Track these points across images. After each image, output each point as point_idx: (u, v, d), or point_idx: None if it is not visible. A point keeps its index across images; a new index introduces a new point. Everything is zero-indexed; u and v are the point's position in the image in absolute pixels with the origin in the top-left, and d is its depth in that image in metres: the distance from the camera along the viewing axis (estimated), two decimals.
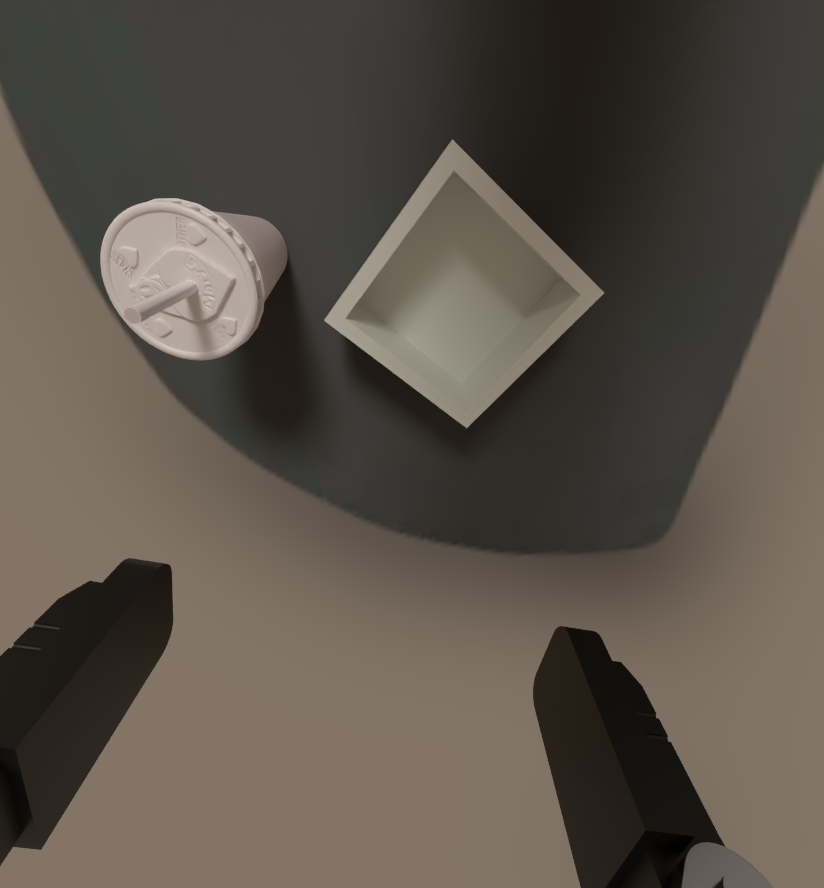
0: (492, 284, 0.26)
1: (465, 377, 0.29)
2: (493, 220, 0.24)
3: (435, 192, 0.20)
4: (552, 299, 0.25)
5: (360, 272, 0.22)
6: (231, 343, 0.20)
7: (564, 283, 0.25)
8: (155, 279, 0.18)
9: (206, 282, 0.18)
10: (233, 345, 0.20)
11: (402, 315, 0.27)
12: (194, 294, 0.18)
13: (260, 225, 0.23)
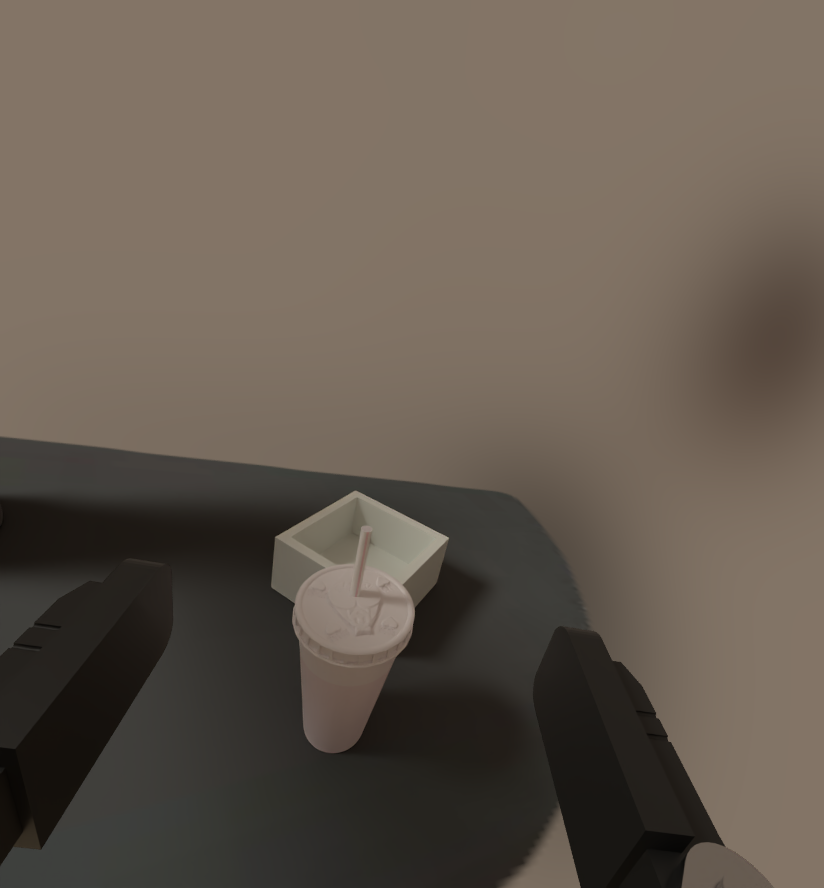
0: None
1: None
2: None
3: (301, 544, 0.34)
4: (362, 525, 0.42)
5: None
6: (396, 583, 0.26)
7: (353, 524, 0.43)
8: (350, 612, 0.23)
9: (351, 583, 0.25)
10: (397, 582, 0.26)
11: None
12: (360, 591, 0.24)
13: None
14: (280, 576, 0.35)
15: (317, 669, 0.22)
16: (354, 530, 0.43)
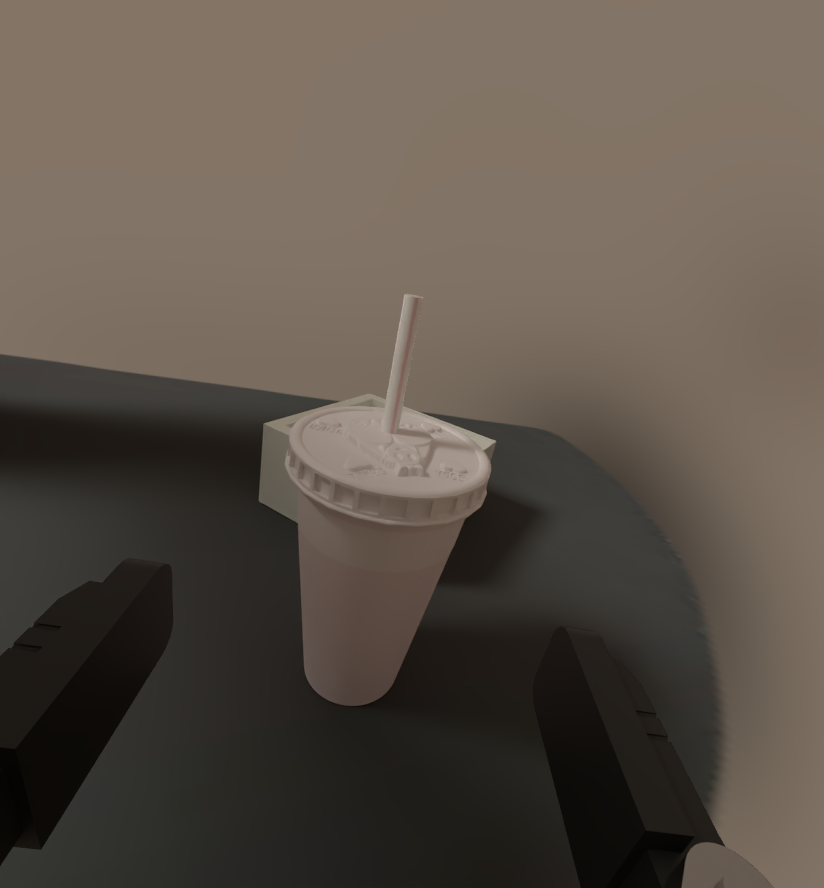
0: None
1: None
2: None
3: None
4: None
5: None
6: (451, 430, 0.16)
7: None
8: (384, 448, 0.13)
9: (382, 421, 0.15)
10: (453, 429, 0.16)
11: None
12: (398, 428, 0.15)
13: None
14: (271, 482, 0.26)
15: (329, 542, 0.13)
16: None
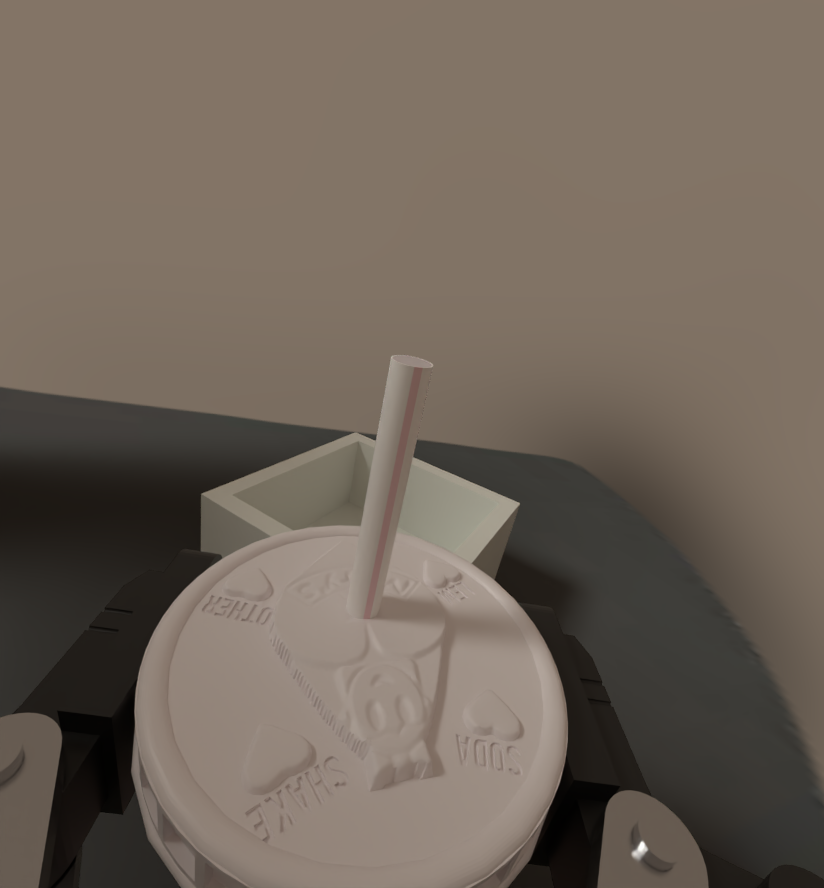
0: None
1: None
2: None
3: (250, 507, 0.18)
4: None
5: None
6: (478, 576, 0.09)
7: (352, 487, 0.26)
8: (347, 680, 0.06)
9: (351, 576, 0.08)
10: (481, 573, 0.09)
11: None
12: None
13: None
14: None
15: None
16: (354, 498, 0.26)
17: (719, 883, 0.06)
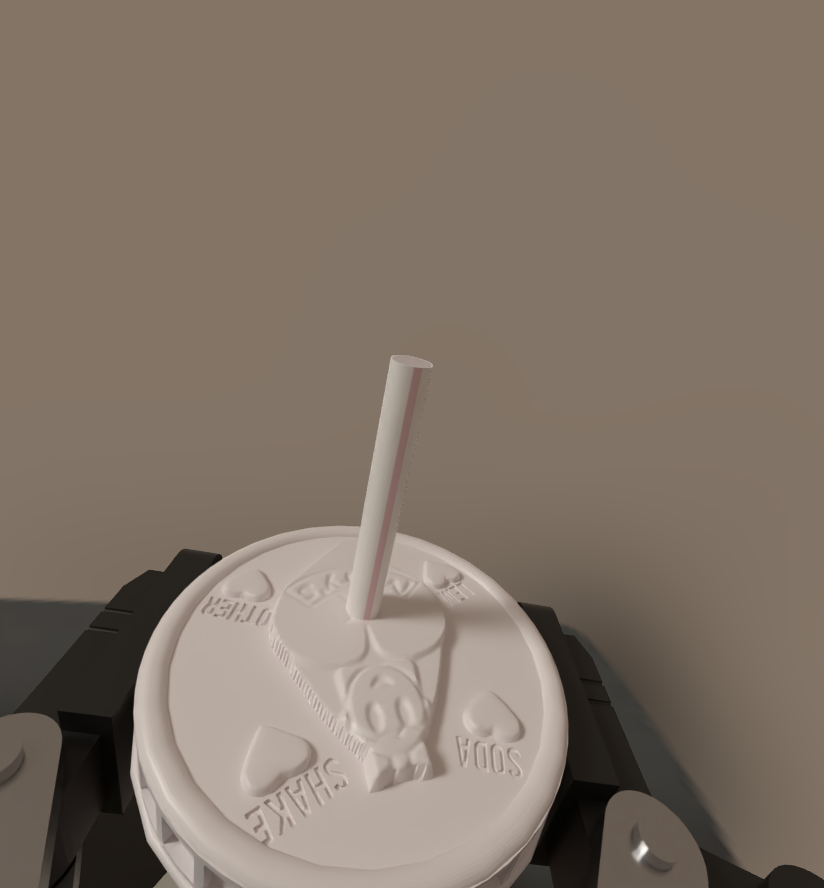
0: None
1: None
2: None
3: None
4: None
5: None
6: (478, 576, 0.09)
7: None
8: (347, 682, 0.06)
9: (351, 577, 0.08)
10: (481, 574, 0.09)
11: None
12: None
13: None
14: None
15: None
16: None
17: (719, 883, 0.06)
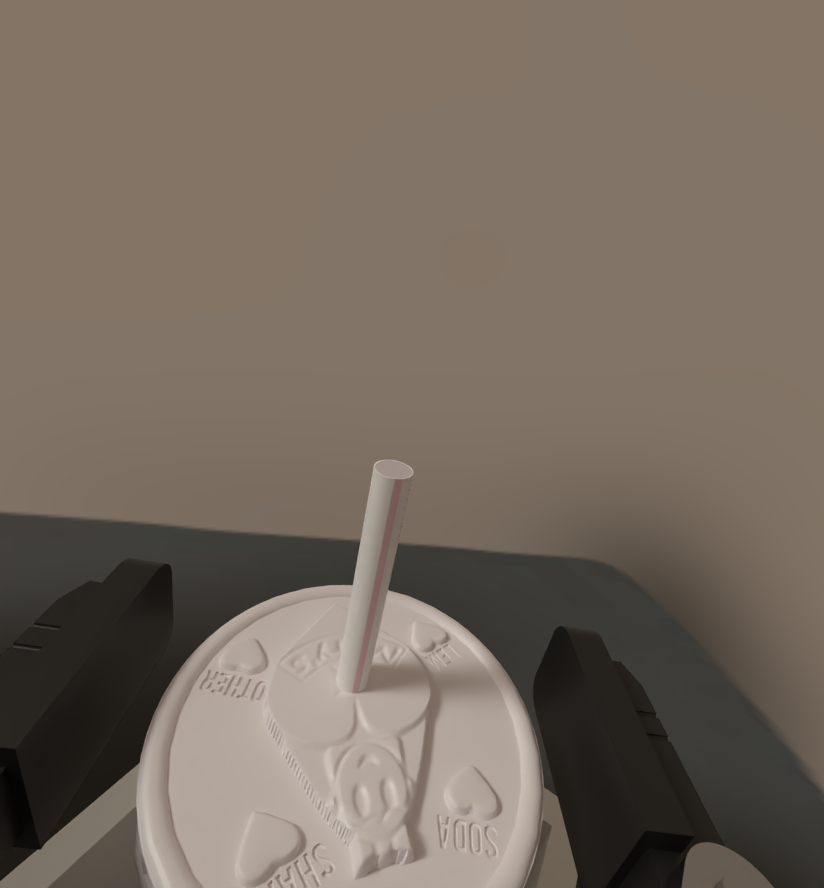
0: None
1: None
2: None
3: None
4: None
5: None
6: (464, 637, 0.09)
7: None
8: (336, 762, 0.07)
9: (342, 645, 0.08)
10: (467, 634, 0.10)
11: None
12: None
13: None
14: None
15: None
16: None
17: None
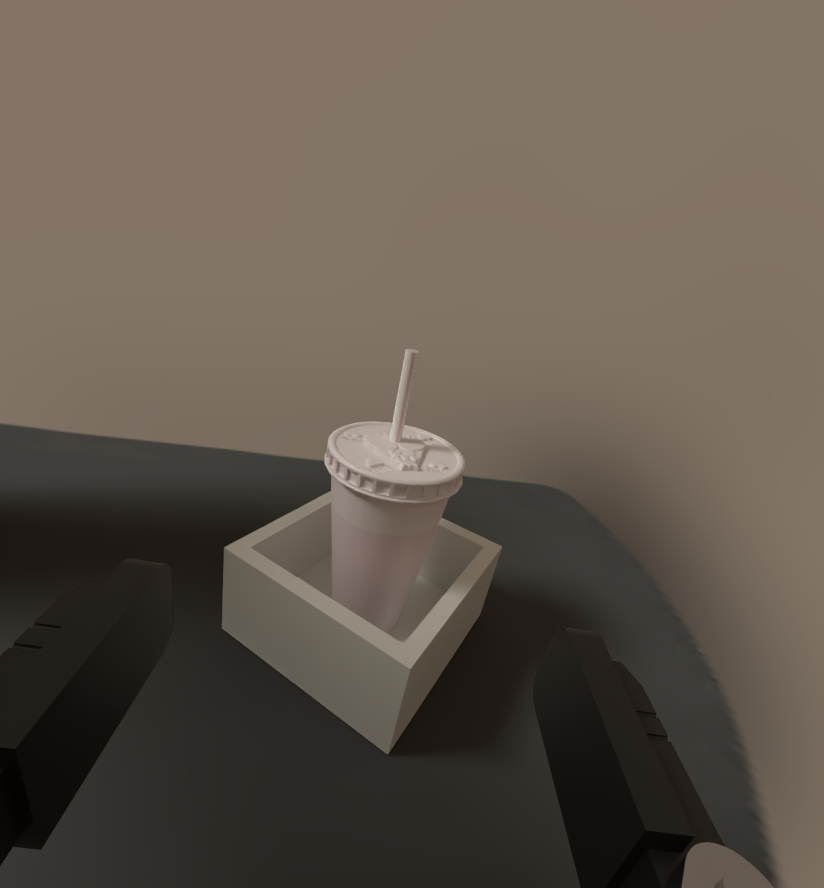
0: None
1: None
2: None
3: (266, 559, 0.20)
4: None
5: (344, 623, 0.18)
6: (439, 439, 0.22)
7: None
8: (392, 452, 0.20)
9: (390, 433, 0.21)
10: (441, 438, 0.22)
11: None
12: (401, 438, 0.21)
13: None
14: (235, 612, 0.22)
15: (355, 514, 0.19)
16: None
17: None
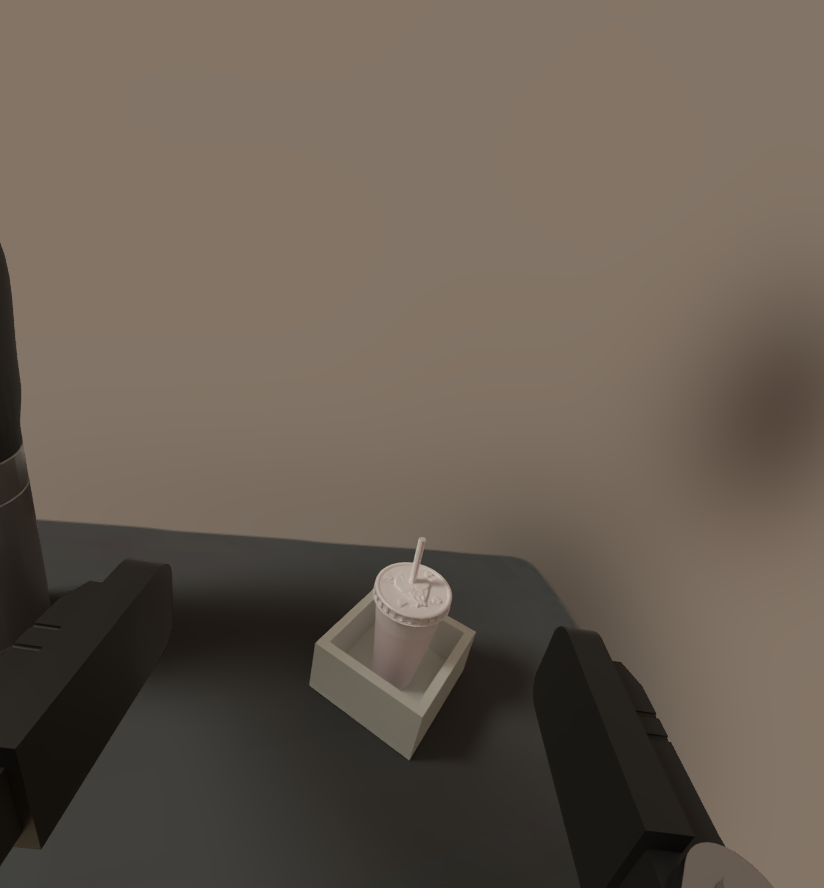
0: None
1: None
2: (350, 652, 0.41)
3: (340, 650, 0.36)
4: None
5: (386, 691, 0.34)
6: (437, 575, 0.38)
7: None
8: (411, 593, 0.35)
9: (409, 575, 0.37)
10: (438, 574, 0.38)
11: None
12: (415, 580, 0.37)
13: None
14: (319, 677, 0.37)
15: (391, 629, 0.35)
16: None
17: None
